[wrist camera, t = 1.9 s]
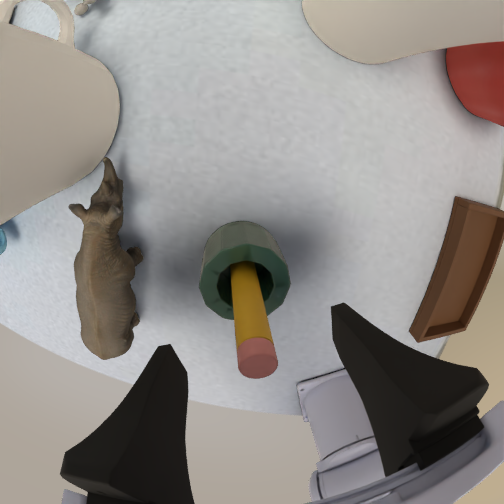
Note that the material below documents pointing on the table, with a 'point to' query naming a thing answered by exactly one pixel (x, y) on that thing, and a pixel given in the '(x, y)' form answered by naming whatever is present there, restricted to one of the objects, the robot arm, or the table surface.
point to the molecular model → (83, 7)
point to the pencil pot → (237, 250)
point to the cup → (402, 26)
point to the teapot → (2, 241)
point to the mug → (49, 111)
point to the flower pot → (479, 78)
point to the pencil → (251, 323)
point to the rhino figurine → (105, 272)
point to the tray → (460, 270)
